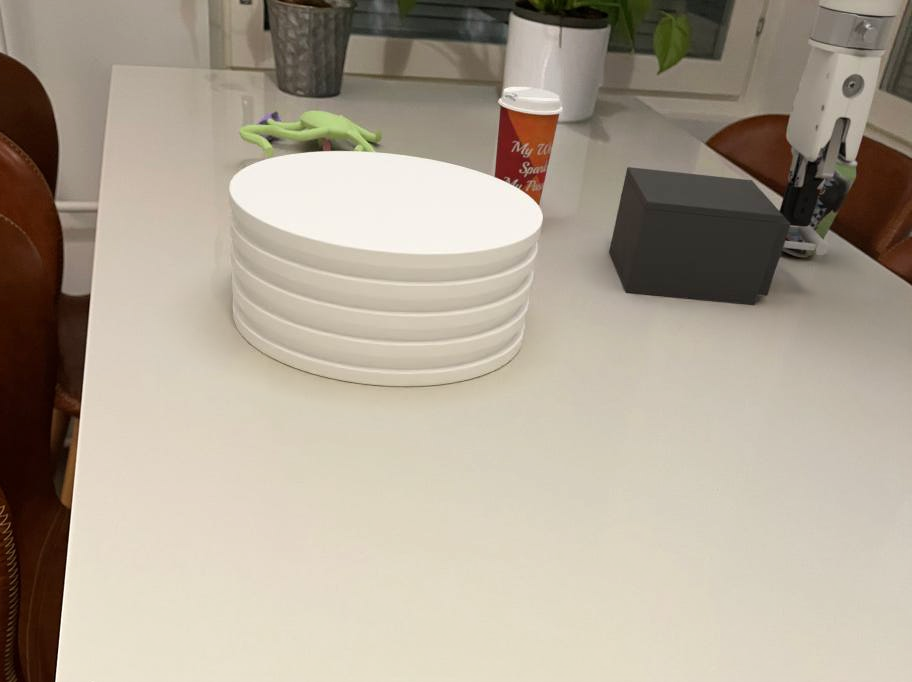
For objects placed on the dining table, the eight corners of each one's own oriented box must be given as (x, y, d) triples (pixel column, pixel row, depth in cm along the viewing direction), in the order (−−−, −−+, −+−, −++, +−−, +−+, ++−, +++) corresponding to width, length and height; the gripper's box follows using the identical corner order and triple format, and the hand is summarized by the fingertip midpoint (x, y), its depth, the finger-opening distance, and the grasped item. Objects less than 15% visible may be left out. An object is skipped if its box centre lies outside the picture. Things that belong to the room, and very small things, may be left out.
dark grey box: (727, 264, 119) (752, 180, 112) (754, 305, 109) (783, 215, 103) (608, 252, 118) (627, 166, 111) (625, 292, 108) (647, 201, 102)
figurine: (236, 181, 124) (234, 133, 120) (255, 126, 144) (254, 83, 140) (382, 195, 125) (385, 147, 122) (381, 139, 146) (384, 97, 142)
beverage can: (762, 241, 127) (794, 140, 119) (818, 248, 127) (853, 148, 119) (773, 258, 122) (807, 154, 114) (831, 265, 122) (869, 162, 115)
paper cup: (507, 230, 120) (526, 102, 111) (471, 209, 125) (486, 86, 115) (557, 224, 124) (579, 100, 115) (520, 204, 128) (538, 84, 119)
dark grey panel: (789, 264, 118) (811, 196, 113) (818, 301, 109) (844, 229, 104) (631, 248, 117) (647, 178, 112) (648, 284, 108) (666, 210, 103)
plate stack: (206, 271, 100) (200, 150, 93) (458, 261, 110) (471, 151, 102) (274, 398, 81) (273, 258, 74) (572, 374, 91) (598, 248, 83)
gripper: (916, 49, 92) (848, 248, 104) (861, 23, 104) (805, 205, 115) (838, 42, 92) (778, 243, 103) (791, 16, 103) (742, 200, 115)
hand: (792, 223), depth 109 cm, fingers closed
